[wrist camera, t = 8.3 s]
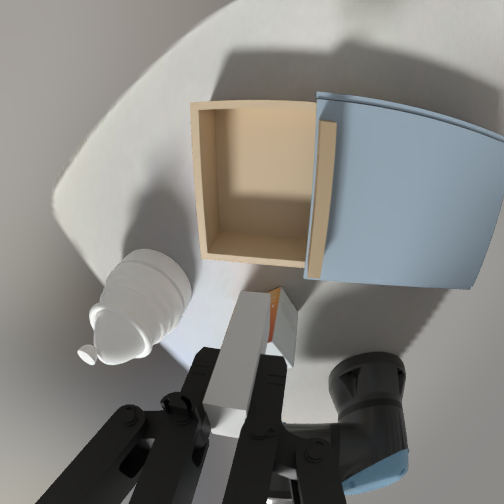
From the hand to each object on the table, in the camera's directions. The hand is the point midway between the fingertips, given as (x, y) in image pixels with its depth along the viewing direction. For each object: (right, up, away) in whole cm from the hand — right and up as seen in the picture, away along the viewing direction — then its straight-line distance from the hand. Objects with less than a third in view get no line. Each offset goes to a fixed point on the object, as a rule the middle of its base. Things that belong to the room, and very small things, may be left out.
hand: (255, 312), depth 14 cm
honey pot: (-16, -2, +29) cm, 33 cm away
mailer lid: (+17, +9, +12) cm, 22 cm away
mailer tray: (+6, +12, +16) cm, 21 cm away
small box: (+2, -5, +27) cm, 28 cm away
